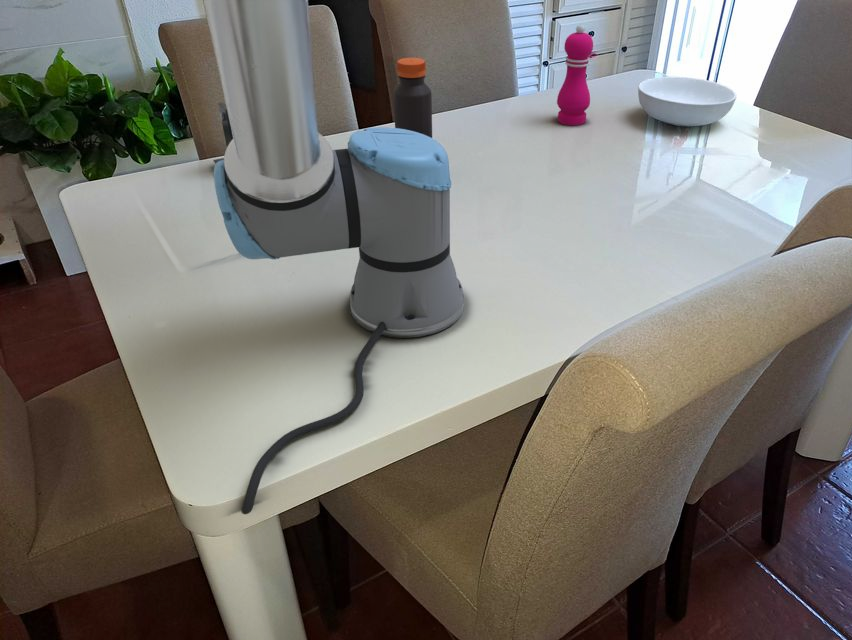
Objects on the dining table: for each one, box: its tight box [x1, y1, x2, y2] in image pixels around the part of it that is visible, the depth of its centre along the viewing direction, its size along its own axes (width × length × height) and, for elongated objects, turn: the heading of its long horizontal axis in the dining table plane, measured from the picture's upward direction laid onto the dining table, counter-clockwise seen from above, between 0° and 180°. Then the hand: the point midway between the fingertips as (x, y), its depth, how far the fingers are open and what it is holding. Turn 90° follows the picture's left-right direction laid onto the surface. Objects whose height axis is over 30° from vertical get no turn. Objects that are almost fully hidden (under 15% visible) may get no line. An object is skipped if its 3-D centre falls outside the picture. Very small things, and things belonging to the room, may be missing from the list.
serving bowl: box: [637, 76, 737, 128], centre depth 156 cm, size 21×21×7 cm
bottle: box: [392, 57, 433, 139], centre depth 127 cm, size 7×7×20 cm
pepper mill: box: [556, 24, 594, 126], centre depth 151 cm, size 7×7×20 cm
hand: (258, 18), depth 96 cm, fingers closed
